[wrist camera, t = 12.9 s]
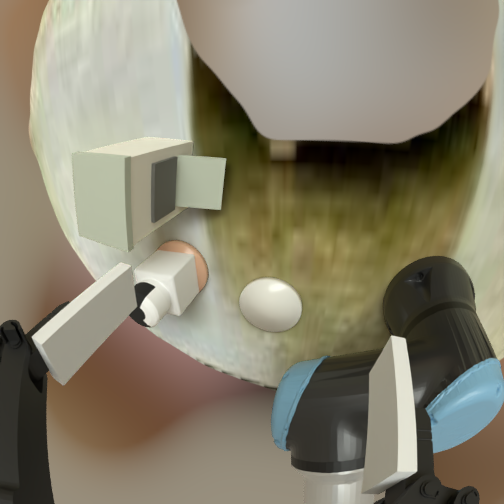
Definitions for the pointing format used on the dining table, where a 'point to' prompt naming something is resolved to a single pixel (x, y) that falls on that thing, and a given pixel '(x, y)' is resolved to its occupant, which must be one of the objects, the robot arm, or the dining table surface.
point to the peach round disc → (189, 249)
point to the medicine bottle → (164, 286)
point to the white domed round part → (270, 304)
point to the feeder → (141, 188)
